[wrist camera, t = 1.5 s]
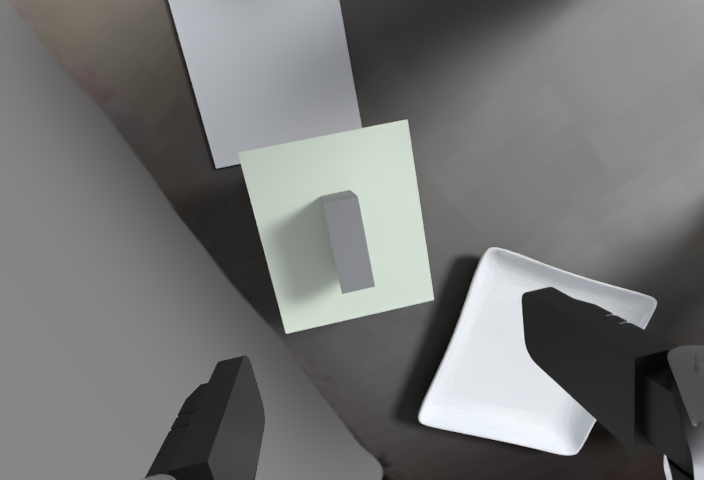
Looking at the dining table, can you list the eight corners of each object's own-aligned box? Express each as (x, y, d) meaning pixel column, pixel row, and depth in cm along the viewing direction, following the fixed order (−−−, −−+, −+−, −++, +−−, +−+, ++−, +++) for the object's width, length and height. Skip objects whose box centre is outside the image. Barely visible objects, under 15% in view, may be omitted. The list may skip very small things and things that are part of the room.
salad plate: (407, 406, 42) (415, 427, 38) (473, 237, 38) (489, 244, 34) (559, 438, 45) (579, 460, 42) (634, 287, 41) (662, 298, 38)
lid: (399, 122, 28) (427, 111, 21) (424, 289, 31) (455, 325, 24) (244, 153, 27) (221, 151, 20) (287, 320, 30) (281, 366, 24)
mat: (331, -41, 30) (331, -43, 30) (363, 139, 34) (363, 139, 34) (166, -13, 29) (164, -15, 29) (217, 168, 33) (216, 168, 33)
